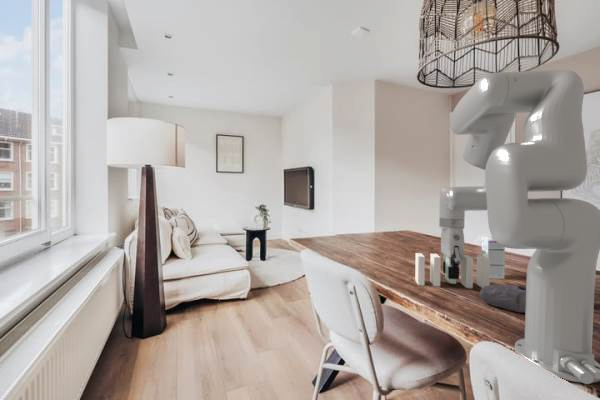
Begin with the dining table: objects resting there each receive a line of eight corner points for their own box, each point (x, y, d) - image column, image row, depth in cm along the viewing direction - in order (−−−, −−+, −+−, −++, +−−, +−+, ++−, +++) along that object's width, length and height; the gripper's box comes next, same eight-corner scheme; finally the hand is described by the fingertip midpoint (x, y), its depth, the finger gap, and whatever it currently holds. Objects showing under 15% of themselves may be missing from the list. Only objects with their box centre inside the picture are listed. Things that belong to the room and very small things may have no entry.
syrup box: (505, 279, 101) (506, 239, 101) (486, 278, 103) (488, 239, 102) (497, 274, 107) (498, 236, 106) (480, 273, 108) (481, 236, 107)
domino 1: (424, 285, 96) (424, 256, 95) (418, 285, 96) (418, 256, 96) (421, 280, 101) (421, 253, 100) (415, 280, 101) (415, 253, 101)
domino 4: (472, 288, 93) (473, 258, 92) (466, 287, 93) (466, 258, 93) (466, 283, 98) (467, 254, 97) (460, 282, 98) (461, 254, 98)
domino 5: (489, 289, 92) (490, 259, 92) (482, 288, 92) (483, 258, 92) (482, 284, 97) (483, 255, 96) (476, 283, 97) (477, 255, 97)
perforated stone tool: (478, 305, 80) (478, 281, 79) (480, 299, 84) (481, 277, 83) (548, 321, 70) (549, 294, 70) (547, 313, 74) (548, 288, 74)
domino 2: (440, 286, 95) (440, 257, 94) (433, 286, 95) (434, 257, 95) (436, 281, 100) (436, 253, 99) (430, 281, 100) (430, 253, 100)
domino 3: (456, 283, 94) (456, 254, 93) (449, 283, 94) (450, 253, 94) (451, 278, 99) (451, 250, 98) (445, 278, 99) (445, 250, 99)
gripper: (474, 227, 86) (472, 285, 87) (455, 220, 103) (454, 269, 104) (447, 226, 88) (446, 283, 89) (433, 220, 105) (432, 268, 106)
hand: (450, 275), depth 97 cm, fingers closed on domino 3, 4 cm apart
